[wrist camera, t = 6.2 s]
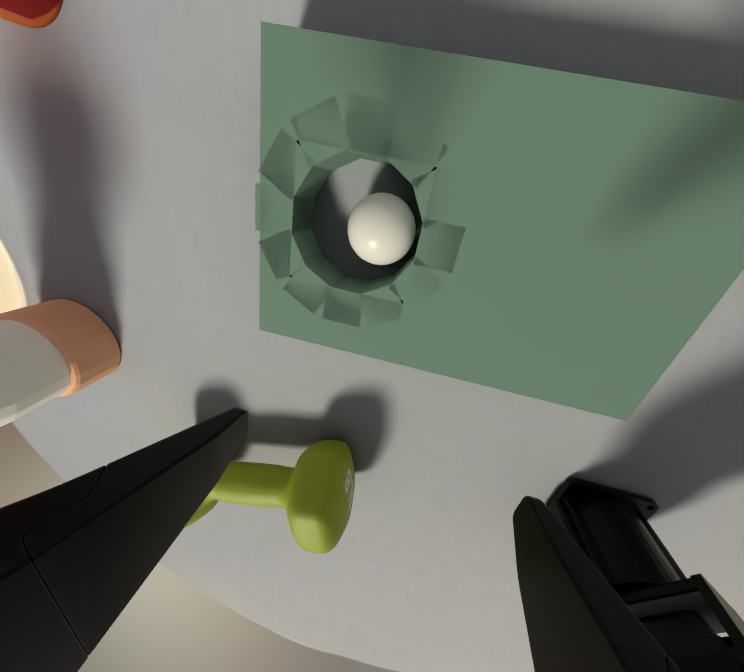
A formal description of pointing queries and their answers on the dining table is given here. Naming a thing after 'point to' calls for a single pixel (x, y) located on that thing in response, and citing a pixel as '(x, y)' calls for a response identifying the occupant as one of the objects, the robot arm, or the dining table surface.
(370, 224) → the ball
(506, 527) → the dining table surface
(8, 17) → the paper cup
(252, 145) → the dining table surface
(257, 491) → the dumbbell
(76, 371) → the salt shaker
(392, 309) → the green slab with hollow
